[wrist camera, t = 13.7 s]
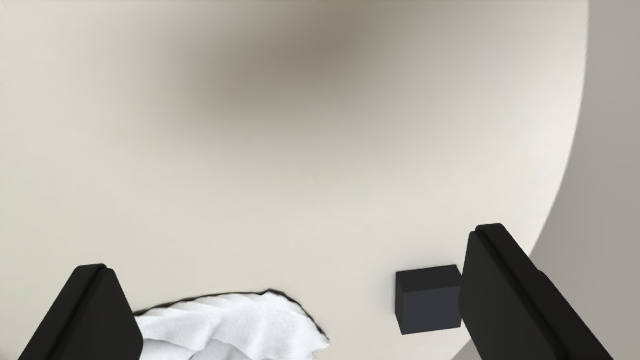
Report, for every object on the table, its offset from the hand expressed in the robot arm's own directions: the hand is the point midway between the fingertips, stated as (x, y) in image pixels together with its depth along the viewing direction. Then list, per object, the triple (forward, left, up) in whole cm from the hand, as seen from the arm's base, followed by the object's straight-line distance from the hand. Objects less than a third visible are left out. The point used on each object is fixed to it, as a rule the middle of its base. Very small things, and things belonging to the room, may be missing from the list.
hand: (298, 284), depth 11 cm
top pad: (+21, +10, -18) cm, 30 cm away
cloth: (+26, -11, -18) cm, 34 cm away
